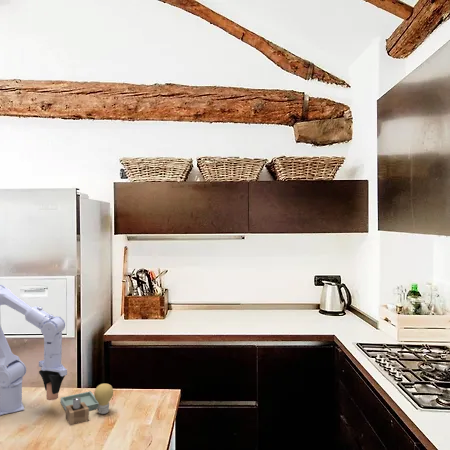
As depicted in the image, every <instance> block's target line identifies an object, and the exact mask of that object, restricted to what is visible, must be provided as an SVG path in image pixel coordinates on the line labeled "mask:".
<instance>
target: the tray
mask: <svg viewBox="0 0 450 450" xmlns="http://www.w3.org/2000/svg"><path fill="white" fill-rule="evenodd" d="M75 397H80V398H81V402H84V403H85V404H86V405H87V407H88V408H89V412H90V411H93V410H98V404H99V403H98V402H97V400H96V399H95V396H94V394H93V392H92V391H90V390H89V391H85V392H82V393H81V392H80V393H76V394H71V395H67V396H63V397H60V399H59V400H60V404H61V406H62V408H63V409H64V411H65V412H66V406H68V405H73V398H75Z"/></svg>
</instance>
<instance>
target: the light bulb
mask: <svg viewBox="0 0 450 450" xmlns="http://www.w3.org/2000/svg"><path fill="white" fill-rule="evenodd" d="M93 395H94V396H95V399H96V400H97V402H98V403H99V404H98V409H97V412H98V414H100V415H105V414H108V413H109V412H110V401H111V399H112V398H113V396H114V388H113V386H112V385H111V384H109V383H100V384H98V385H97V386H96V388H95V390H94V394H93Z"/></svg>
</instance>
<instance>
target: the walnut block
mask: <svg viewBox="0 0 450 450" xmlns="http://www.w3.org/2000/svg"><path fill="white" fill-rule="evenodd" d="M89 412H90V411H89V408H88V407H87V405H86V404H85V403H84V402H81V409H78V410H74V411H73V405H68V406H66V411H65V419H66V420H67V422H68V424H69V426H72V425H76V424H80V423H84V422H88V421H89V419H90V418H89V417H90V416H89V414H90V413H89Z"/></svg>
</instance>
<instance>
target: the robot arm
mask: <svg viewBox="0 0 450 450" xmlns="http://www.w3.org/2000/svg"><path fill="white" fill-rule="evenodd" d="M4 305H5V306H7V307H9V308H11V309H13V310H14V311H16V312H18V313H20V314H22V315H24V319H25V321H27V322H28V323H30V324H31V325H33V326H35V327H36V328H37V329H39V330H40V331H41V332H40V333H41V334H42V335H43V360H39V361H38V367H39V368H40V370H39V371H38V374H39V375H40V376H41V377H40V378H41V379H42V382H43V386H44V390H45V391H46V392H47V383H49V382H51V386H52V393H53V394H56V393H58V394H59V393H60V389H61V385H62V384H63V380H64V378H65V377H66V376H67V375H68V369H67V368H65V366H64V365H63V363H62V358H63V357H62V353H63V352H62V351H63V347H62V345H63V343H62V342H63V331H64V330H65V328H66V322H65V320H64V319H63V318H62V317H61V316H60V315H59V316H58V315H55V316H54V315H53V314H50V313H48V312H47V311H45V310H43V307H41V306H37V305H35V306H31V305H29V304H28V303H27V302H25V301H24V300H23V299H21V298H20V297H18V296H17V295H16V294H14V293H13V292H12V290H11V289H10V288H8V287H6V286H5V285H3V284H0V306H4ZM26 372H27V366H26V365H25V363H24V362H23V361H22V360H21V359H20V356H18V355H16V354H14V353H13V351H12V349H11V346H10V345H9V342H8V339H7V338H6V335H5V333H4V331H3V329H2V326H1V325H0V416H3V415H7V414H12V413H16V412H21V411H25V406H24V404H23V381H24V380H23V377H24V376H26Z"/></svg>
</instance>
